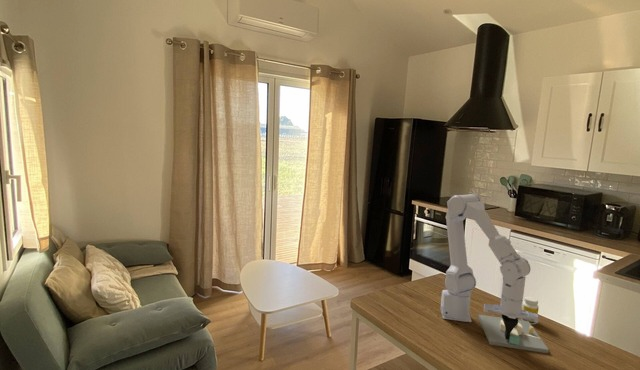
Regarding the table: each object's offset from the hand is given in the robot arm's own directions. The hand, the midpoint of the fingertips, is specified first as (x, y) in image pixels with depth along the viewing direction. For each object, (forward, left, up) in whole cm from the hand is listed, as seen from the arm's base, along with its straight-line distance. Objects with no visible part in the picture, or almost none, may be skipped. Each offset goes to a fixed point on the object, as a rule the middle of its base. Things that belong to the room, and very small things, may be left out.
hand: (507, 337), depth 103 cm
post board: (+3, +6, -2) cm, 7 cm away
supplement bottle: (+12, +16, -2) cm, 20 cm away
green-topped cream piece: (+2, +3, 0) cm, 4 cm away
